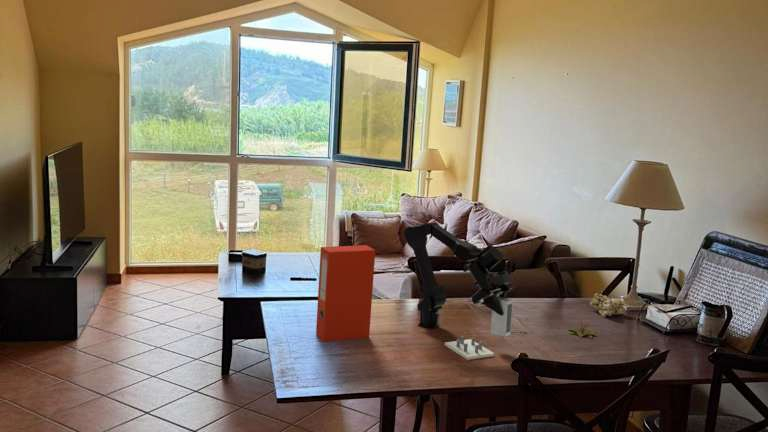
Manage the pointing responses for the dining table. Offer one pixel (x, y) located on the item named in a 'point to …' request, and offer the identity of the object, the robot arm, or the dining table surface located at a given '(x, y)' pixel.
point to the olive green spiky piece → (582, 331)
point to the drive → (502, 318)
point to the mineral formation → (607, 305)
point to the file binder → (345, 292)
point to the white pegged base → (469, 348)
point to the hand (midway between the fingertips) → (505, 314)
